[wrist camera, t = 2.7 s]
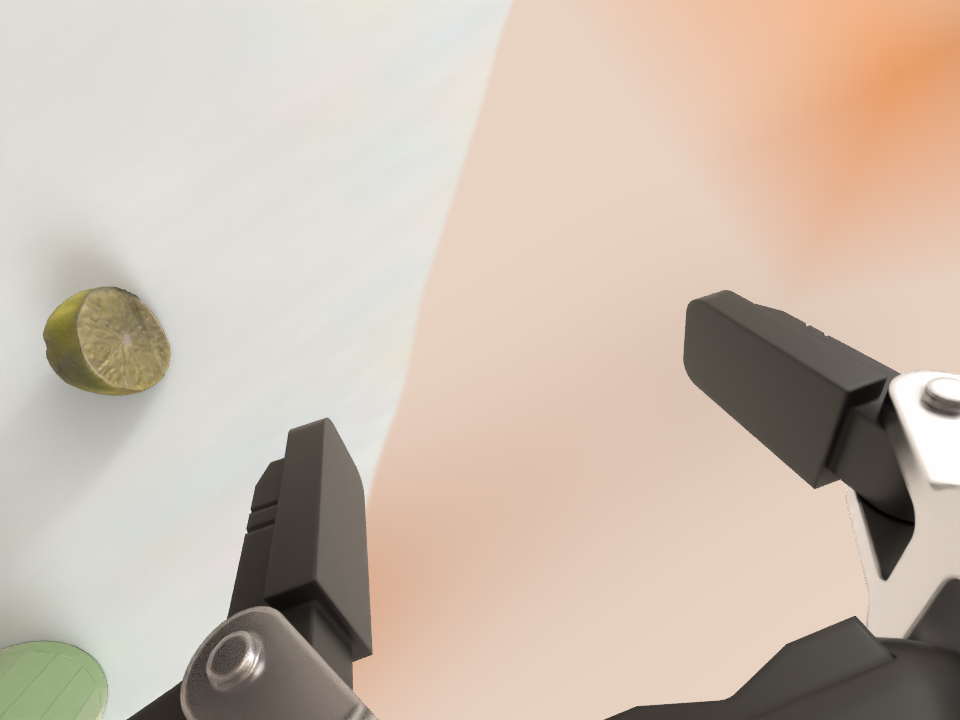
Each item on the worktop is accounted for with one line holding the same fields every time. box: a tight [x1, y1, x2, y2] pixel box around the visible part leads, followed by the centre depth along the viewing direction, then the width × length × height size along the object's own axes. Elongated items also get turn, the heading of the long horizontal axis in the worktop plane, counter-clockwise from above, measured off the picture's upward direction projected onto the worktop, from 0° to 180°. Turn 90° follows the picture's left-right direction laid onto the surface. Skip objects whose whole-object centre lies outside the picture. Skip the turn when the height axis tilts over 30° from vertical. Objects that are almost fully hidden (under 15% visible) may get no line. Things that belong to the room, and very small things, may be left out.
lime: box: [43, 287, 170, 396], centre depth 21 cm, size 4×5×5 cm
